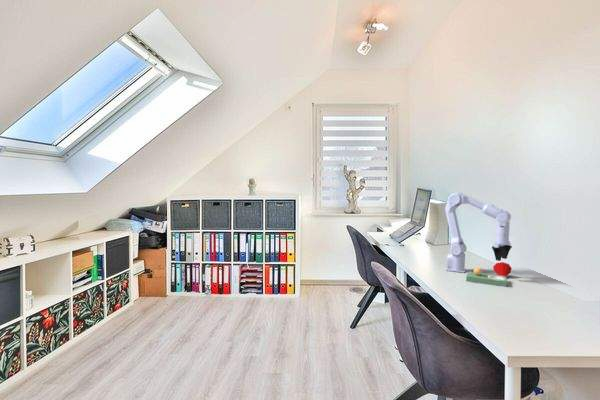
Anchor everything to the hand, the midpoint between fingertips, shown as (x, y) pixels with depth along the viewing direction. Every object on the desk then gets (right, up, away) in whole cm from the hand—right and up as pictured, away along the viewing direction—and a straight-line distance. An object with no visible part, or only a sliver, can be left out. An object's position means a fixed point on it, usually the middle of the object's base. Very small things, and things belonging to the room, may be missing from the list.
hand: (501, 259), depth 193 cm
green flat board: (-11, -10, -6) cm, 16 cm away
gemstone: (+3, -10, +3) cm, 11 cm away
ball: (-14, -6, -4) cm, 16 cm away
